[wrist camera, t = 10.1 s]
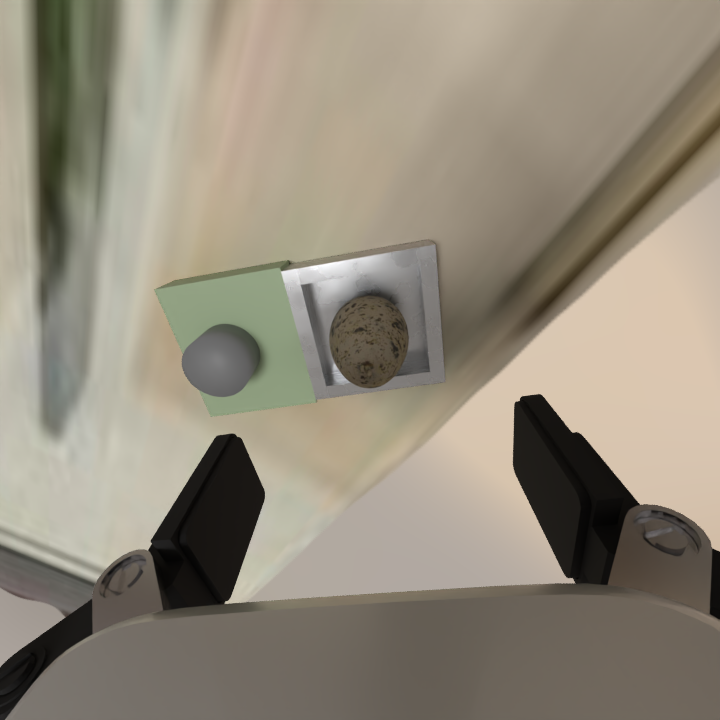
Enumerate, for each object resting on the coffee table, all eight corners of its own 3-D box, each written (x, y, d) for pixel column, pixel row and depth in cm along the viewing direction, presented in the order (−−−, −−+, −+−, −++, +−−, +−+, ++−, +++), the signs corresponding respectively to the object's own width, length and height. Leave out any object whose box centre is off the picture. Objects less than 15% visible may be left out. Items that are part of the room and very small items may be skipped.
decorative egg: (327, 342, 30) (310, 405, 21) (342, 277, 28) (330, 317, 19) (391, 357, 31) (401, 425, 22) (412, 295, 28) (433, 343, 19)
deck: (288, 260, 28) (269, 276, 22) (320, 385, 33) (311, 422, 27) (174, 280, 29) (129, 300, 23) (223, 399, 34) (195, 438, 28)
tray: (428, 239, 27) (435, 244, 24) (438, 365, 32) (445, 382, 29) (289, 264, 28) (281, 271, 25) (320, 382, 33) (315, 399, 30)
